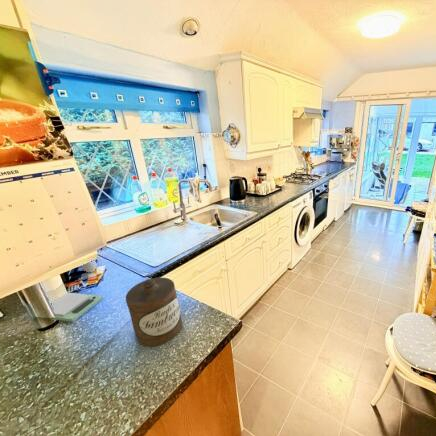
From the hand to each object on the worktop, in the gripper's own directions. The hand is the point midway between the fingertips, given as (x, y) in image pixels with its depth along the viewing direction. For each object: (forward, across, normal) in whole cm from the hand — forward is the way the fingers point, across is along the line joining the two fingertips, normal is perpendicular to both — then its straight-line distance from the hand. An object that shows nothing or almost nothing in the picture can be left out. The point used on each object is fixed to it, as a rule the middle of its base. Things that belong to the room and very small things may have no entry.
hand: (85, 254), depth 119 cm
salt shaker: (+8, 0, -5) cm, 9 cm away
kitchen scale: (+29, +12, +16) cm, 35 cm away
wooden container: (+55, -6, +42) cm, 69 cm away
